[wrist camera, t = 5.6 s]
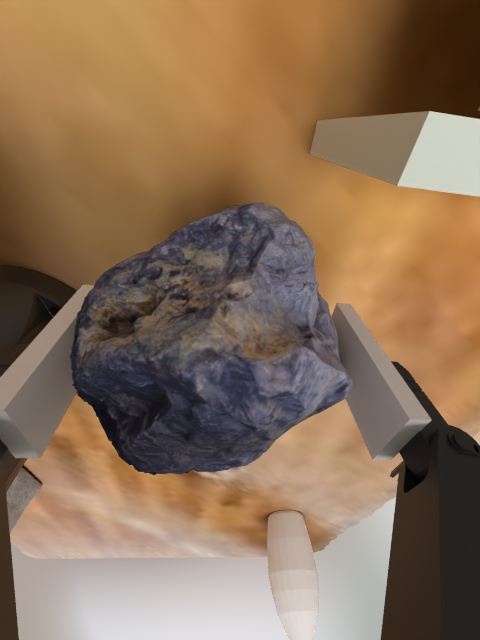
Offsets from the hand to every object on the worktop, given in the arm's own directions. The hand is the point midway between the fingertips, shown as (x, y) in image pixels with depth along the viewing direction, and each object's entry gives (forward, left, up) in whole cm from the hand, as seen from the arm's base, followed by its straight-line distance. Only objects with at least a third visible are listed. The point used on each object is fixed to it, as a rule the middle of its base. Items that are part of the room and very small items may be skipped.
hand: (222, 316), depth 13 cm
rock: (+1, 0, -1) cm, 1 cm away
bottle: (+22, -72, -12) cm, 76 cm away
